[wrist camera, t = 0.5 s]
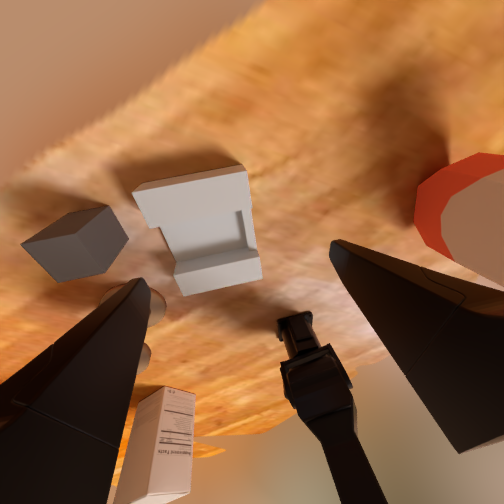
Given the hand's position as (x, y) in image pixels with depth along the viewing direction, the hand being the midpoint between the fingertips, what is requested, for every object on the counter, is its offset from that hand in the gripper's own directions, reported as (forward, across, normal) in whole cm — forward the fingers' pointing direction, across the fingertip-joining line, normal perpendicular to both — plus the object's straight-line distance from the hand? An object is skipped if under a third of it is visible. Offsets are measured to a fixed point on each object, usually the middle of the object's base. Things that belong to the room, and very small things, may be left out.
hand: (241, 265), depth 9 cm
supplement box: (+14, +22, +44) cm, 51 cm away
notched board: (+14, +3, +5) cm, 15 cm away
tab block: (+14, +14, +2) cm, 20 cm away
